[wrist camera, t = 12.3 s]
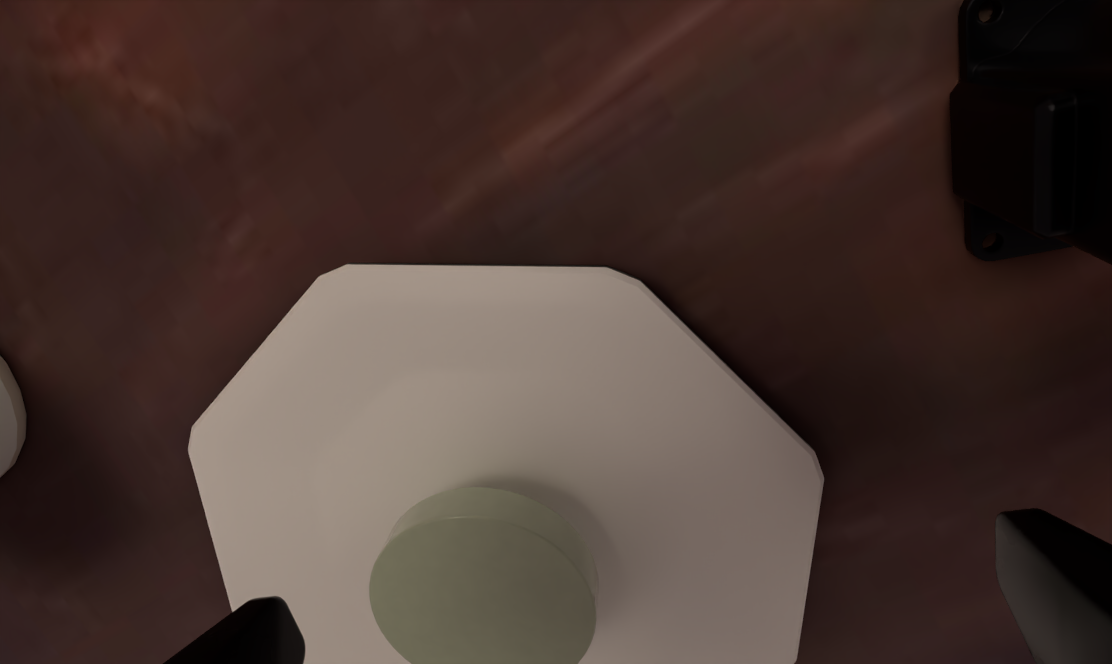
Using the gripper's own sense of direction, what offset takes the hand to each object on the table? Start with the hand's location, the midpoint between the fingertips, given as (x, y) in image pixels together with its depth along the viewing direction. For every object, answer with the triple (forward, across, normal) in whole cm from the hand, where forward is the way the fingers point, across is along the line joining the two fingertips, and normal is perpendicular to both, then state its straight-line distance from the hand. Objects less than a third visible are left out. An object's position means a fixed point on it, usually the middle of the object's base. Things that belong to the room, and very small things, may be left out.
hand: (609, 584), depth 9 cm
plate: (+12, +6, +8) cm, 16 cm away
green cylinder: (+10, +6, +8) cm, 14 cm away
